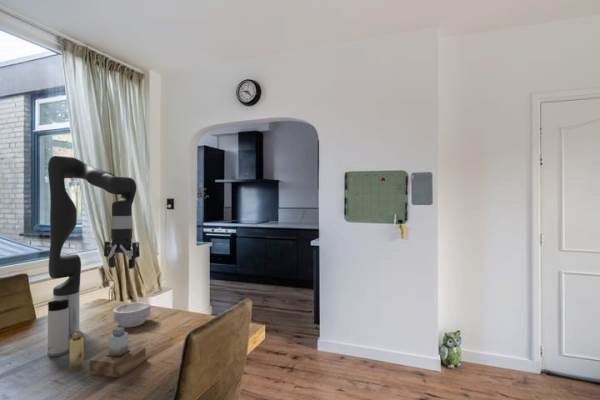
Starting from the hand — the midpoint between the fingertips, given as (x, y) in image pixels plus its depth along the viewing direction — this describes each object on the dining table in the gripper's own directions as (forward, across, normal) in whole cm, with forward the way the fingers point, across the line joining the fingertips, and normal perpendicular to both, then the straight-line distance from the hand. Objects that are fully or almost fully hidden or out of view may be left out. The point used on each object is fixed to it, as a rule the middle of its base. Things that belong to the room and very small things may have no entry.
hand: (121, 267), depth 132 cm
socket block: (+30, +12, -16) cm, 36 cm away
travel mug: (+30, -17, -12) cm, 37 cm away
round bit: (+30, -1, -20) cm, 36 cm away
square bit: (+29, +12, -16) cm, 35 cm away
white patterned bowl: (+30, -10, +19) cm, 37 cm away
